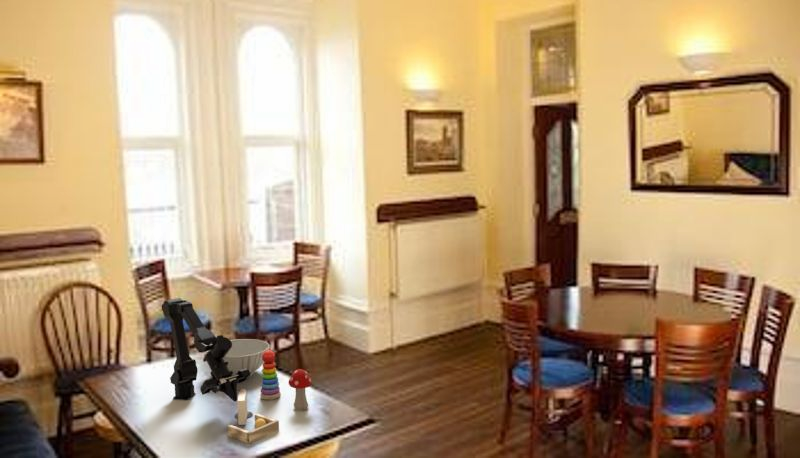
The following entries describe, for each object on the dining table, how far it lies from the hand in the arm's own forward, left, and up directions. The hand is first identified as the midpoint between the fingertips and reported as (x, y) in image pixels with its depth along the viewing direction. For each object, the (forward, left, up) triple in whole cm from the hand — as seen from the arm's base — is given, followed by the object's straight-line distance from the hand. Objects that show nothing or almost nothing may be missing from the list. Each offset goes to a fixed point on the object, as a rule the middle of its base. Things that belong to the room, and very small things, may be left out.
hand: (235, 400), depth 245 cm
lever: (+2, 0, -7) cm, 7 cm away
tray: (+11, -10, -7) cm, 16 cm away
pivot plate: (+1, +4, -7) cm, 8 cm away
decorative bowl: (-21, +47, -7) cm, 52 cm away
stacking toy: (+3, +24, -7) cm, 25 cm away
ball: (+12, -7, -5) cm, 15 cm away
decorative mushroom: (+19, +15, -7) cm, 25 cm away
